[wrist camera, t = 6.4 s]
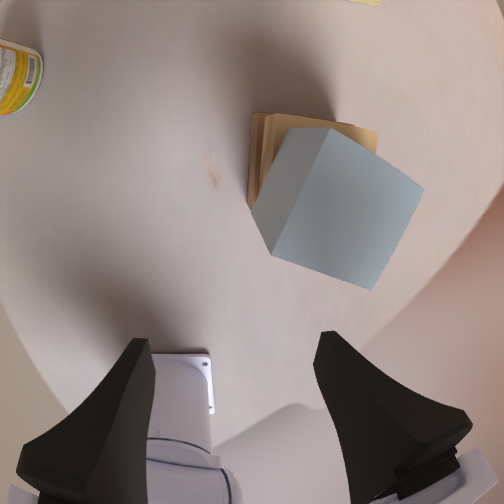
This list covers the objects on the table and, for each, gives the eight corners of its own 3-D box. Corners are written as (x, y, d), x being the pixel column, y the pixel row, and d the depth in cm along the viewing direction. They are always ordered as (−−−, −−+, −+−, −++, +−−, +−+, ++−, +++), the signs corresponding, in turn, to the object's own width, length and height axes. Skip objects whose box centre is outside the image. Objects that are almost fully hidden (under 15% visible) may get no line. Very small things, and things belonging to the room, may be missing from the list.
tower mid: (340, 214, 18) (362, 229, 15) (256, 208, 17) (265, 224, 14) (352, 130, 16) (378, 132, 13) (265, 116, 15) (277, 112, 12)
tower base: (326, 204, 21) (343, 216, 18) (246, 201, 20) (252, 213, 17) (335, 124, 18) (354, 124, 16) (251, 115, 17) (258, 112, 15)
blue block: (327, 242, 15) (371, 290, 11) (250, 212, 14) (270, 255, 9) (364, 167, 14) (424, 188, 9) (288, 127, 12) (330, 127, 8)
